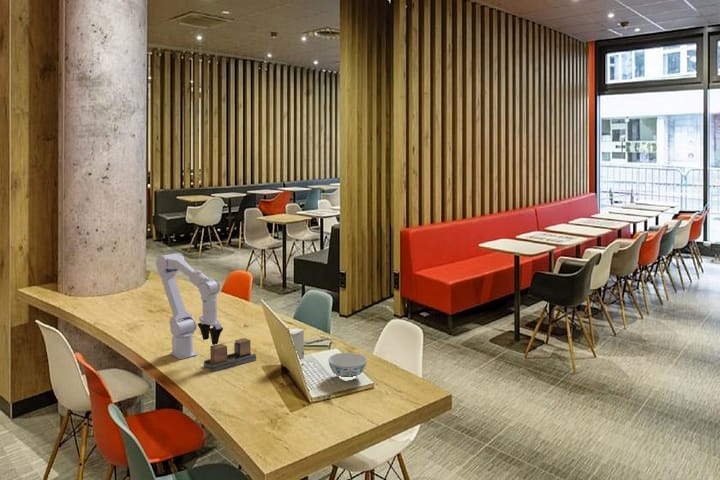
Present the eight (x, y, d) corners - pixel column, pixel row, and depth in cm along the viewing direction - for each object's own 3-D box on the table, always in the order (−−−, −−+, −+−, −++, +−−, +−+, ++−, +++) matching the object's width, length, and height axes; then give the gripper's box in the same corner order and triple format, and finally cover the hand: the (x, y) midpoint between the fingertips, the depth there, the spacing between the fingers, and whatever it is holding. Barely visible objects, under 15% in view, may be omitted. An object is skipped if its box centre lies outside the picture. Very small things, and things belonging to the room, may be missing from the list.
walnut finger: (210, 362, 238) (210, 346, 237) (222, 359, 242) (222, 343, 240) (215, 365, 235) (215, 348, 234) (227, 362, 239) (227, 345, 238)
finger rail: (203, 366, 238) (203, 346, 237) (246, 355, 252) (245, 336, 250) (213, 371, 232) (212, 351, 231) (256, 360, 246) (256, 340, 244)
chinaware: (362, 387, 219) (362, 367, 218) (324, 383, 222) (324, 364, 221) (369, 372, 234) (370, 354, 232) (333, 369, 237) (333, 351, 235)
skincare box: (293, 370, 235) (292, 334, 233) (280, 367, 238) (280, 332, 236) (304, 363, 242) (304, 329, 240) (292, 361, 245) (292, 326, 243)
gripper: (192, 307, 240) (193, 339, 243) (209, 315, 230) (210, 348, 232) (207, 304, 245) (208, 335, 247) (225, 312, 235) (226, 344, 237)
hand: (210, 341), depth 240 cm, fingers open, 7 cm apart
